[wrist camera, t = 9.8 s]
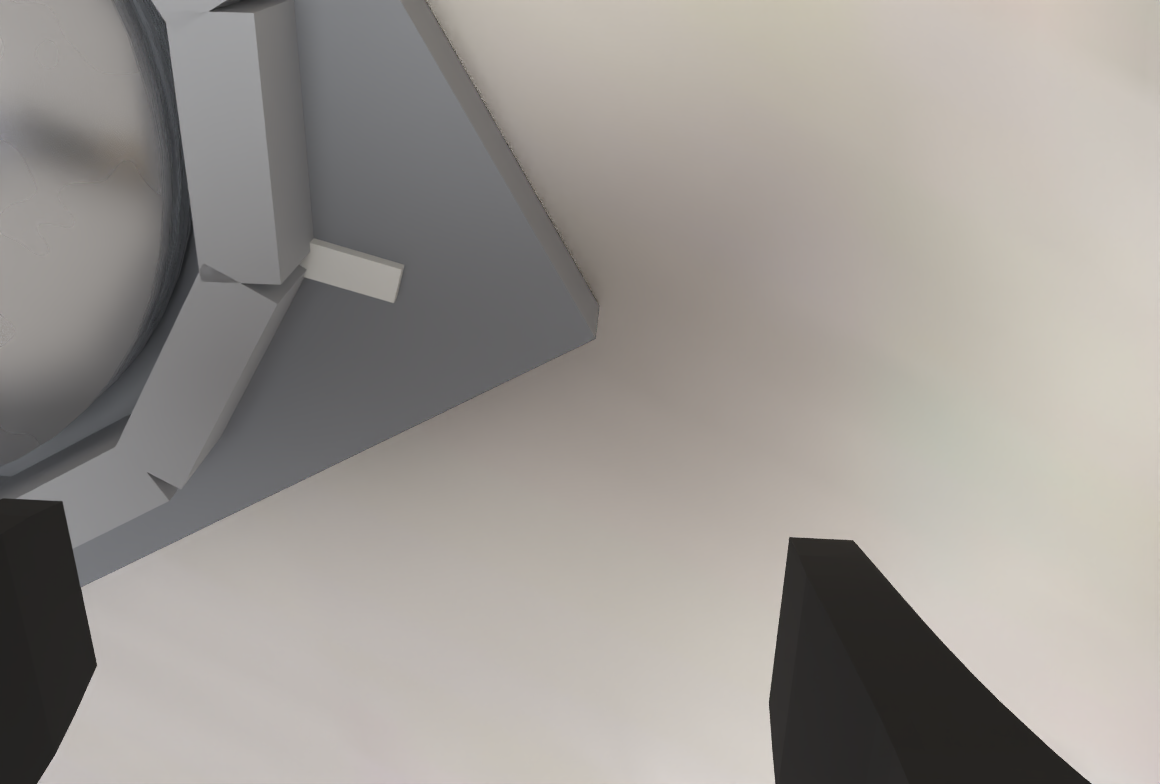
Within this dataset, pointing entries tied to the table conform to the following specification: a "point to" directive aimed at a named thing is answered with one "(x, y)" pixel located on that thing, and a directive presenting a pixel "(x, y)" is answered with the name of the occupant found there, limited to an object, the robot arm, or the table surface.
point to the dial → (83, 204)
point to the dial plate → (312, 272)
